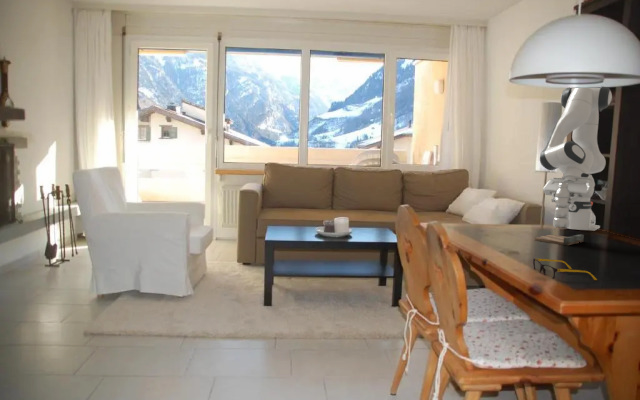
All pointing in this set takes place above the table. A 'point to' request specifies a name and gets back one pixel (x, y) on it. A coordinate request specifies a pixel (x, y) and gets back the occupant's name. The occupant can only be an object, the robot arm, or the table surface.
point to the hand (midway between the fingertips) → (561, 202)
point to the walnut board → (561, 239)
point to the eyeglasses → (557, 269)
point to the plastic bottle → (562, 207)
